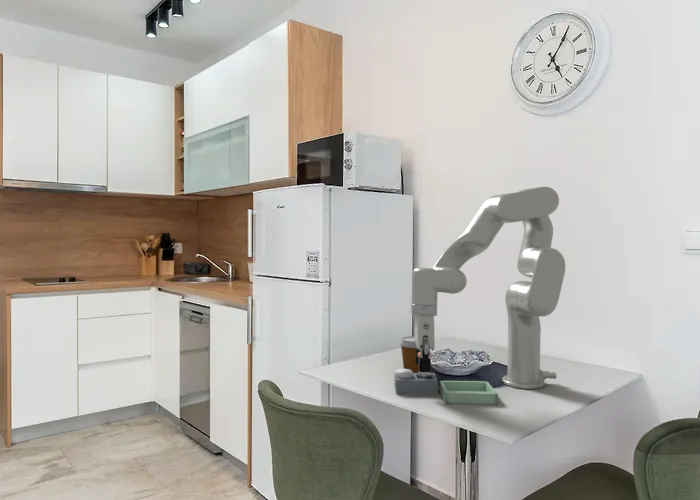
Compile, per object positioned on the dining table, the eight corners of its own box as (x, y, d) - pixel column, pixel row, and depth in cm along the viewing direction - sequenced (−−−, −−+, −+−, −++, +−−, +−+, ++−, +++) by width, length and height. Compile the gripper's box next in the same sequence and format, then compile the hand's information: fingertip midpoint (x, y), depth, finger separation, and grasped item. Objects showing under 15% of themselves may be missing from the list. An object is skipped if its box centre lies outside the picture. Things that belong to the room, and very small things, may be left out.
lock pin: (430, 388, 154) (430, 351, 153) (431, 392, 150) (432, 354, 149) (416, 387, 154) (416, 351, 153) (418, 392, 150) (418, 354, 149)
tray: (487, 390, 151) (487, 381, 151) (497, 404, 139) (497, 393, 139) (439, 390, 151) (439, 380, 151) (445, 403, 139) (445, 393, 139)
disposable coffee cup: (428, 380, 162) (428, 342, 162) (397, 378, 164) (398, 341, 164) (429, 372, 171) (429, 336, 171) (401, 370, 173) (401, 335, 173)
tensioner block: (434, 386, 155) (434, 367, 155) (437, 394, 147) (438, 375, 147) (394, 385, 156) (394, 367, 156) (396, 393, 148) (396, 374, 148)
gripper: (441, 314, 142) (439, 375, 143) (433, 306, 159) (431, 361, 160) (414, 313, 142) (412, 375, 143) (409, 305, 160) (407, 360, 160)
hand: (422, 367), depth 151 cm, fingers open, 9 cm apart
